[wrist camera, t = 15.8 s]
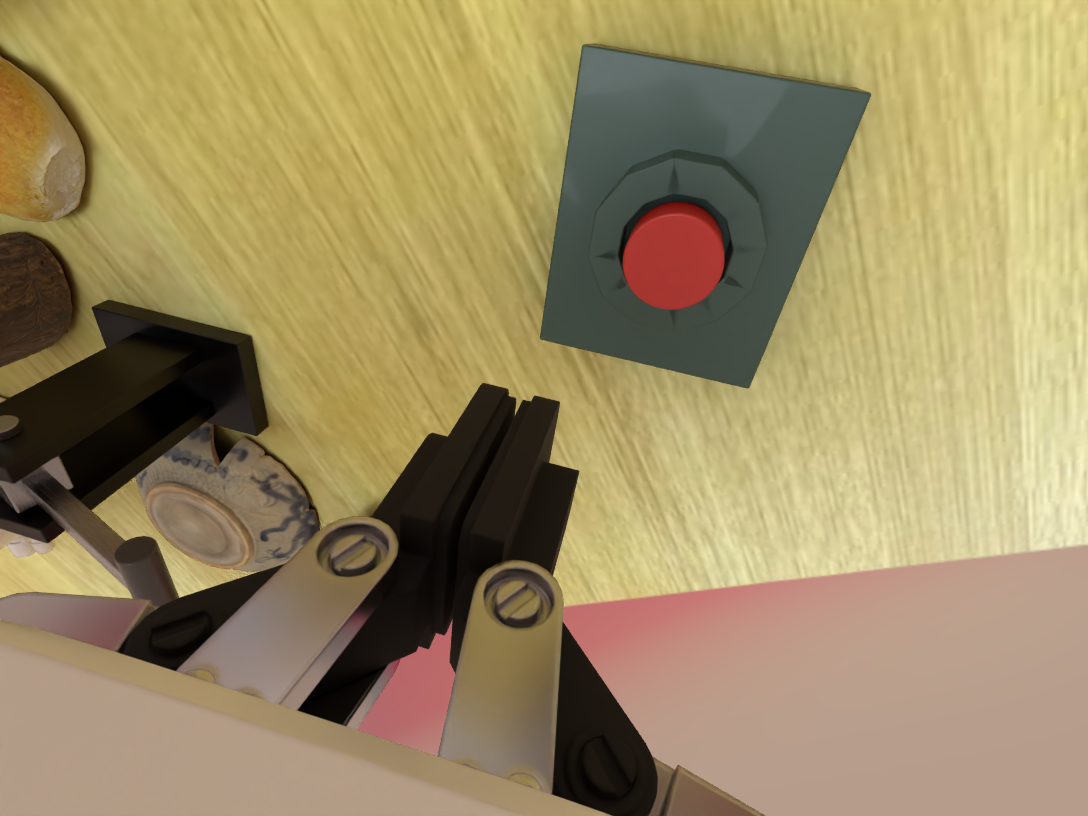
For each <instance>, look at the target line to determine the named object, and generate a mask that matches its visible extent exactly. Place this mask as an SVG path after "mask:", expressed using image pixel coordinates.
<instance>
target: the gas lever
mask: <svg viewBox="0 0 1088 816" xmlns="http://www.w3.org/2000/svg"><path fill="white" fill-rule="evenodd" d="M72 488H74V485H73V483H72V481H71V479H70V477H69V474H68V472H67V470H66V468H65V466H64V464H63V462H62V460H61V458H60V456H59V455H58V456H57V457H55V458H53V459H52V460H50V461H49V462H47V463H46V464H44V465H43V466H41V467H40V468H38V469H36V470H35V471H33V472H32V473H30V474H29V475H27V476H26V477H24V478H23V479H21V480H19V481H18V482H16V483H15V484H11V483H8V482H5V481H1V480H0V496H1V497H2V498H3V499H4V500H5V501H6V502H7V503H8V504H9V505H10V506H11V507H12V508H13V509H14V510H15V511H16V512H17V513H21V512H23V511H25V510H28V509H30V508H32V507H34V506H36V505H39V506H40V507H41V508H42V509H43V510H44V511H46V512H47V513H48V514H49V515H50V516H51V517H52V518H53V519H54V520H55V521H56V522H57V523H58V524H59V525H60V526H61V527H62V528H64V529H65V530H66V531H67V532H68V533H69V534H70V535H71V536H72V537H73V538H74V539H75V540H76V541H77V542H78V543H79V544H80V545H81V546H83V547H84V548H85V549H86V550H87V551H88V552H89V553H90V554H91V555H92V556H93V557H94V558H95V559H96V560H97V561H98V562H99V563H101V564H102V565H103V566H104V567H105V568H106V569H107V570H108V571H109V572H110V573H111V574H112V575H113V576H114V577H115V578H116V579H117V580H119V581H120V582H121V583H122V584H123V585H124V586H125V587H126V588H127V589H128V590H129V591H130V593H131V595H132V598H133V599H144V600H151V602H152V604H153V606H156V607H160V606H162V605H164V604H166V603H168V602H171V601H173V600H175V599H178V598H179V596H178V593H177V591H176V588H175V586H174V584H173V581H172V579H171V576H170V574H169V571H168V569H167V566H166V564H165V561H164V559H163V556H162V554H161V551H160V549H159V546H158V544H157V542H156V540H155V539H153V538H151V537H147V536H140V537H135V538H132V539H129V540H127V541H125V540H124V539H123V538H121V537H120V536H119V535H118V534H117V533H116V532H115V531H114V530H112V529H111V528H110V527H109V526H108V525H107V524H106V523H105V522H103V521H102V520H101V519H100V518H99V517H98V516H97V515H96V514H94V513H93V512H92V511H91V510H90V509H89V508H88V507H87V506H85V505H84V504H83V503H82V502H81V501H80V500H79V499H78V498H76V497H75V496H74V495H73V494H72V493H71V492H70V491H69V490H70V489H72Z"/></svg>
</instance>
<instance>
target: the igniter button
mask: <svg viewBox="0 0 1088 816" xmlns="http://www.w3.org/2000/svg"><path fill="white" fill-rule="evenodd" d="M723 268H724V244H723V236H722V233H721V229H720V227H719V225H718V223H717V222H716V220H715V219H714V218H713V217H712V215H711V214H710V213H708V212H707V211H706V210H705V209H703V208H701V207H700V206H697V205H695V204H692V203H688V202H681V201H674V202H668V203H664V204H661V205H658V206H656V207H654V208H652V209H651V210H649V211H648V212H646V213H645V214H644V215H643V216H642V217H641V218H640V219H639V220H638V222H637V223H636V224H635V226H634V228H633V230H632V232H631V234H630V237H629V239H628V242H627V244H626V247H625V251H624V255H623V271H624V275H625V279H626V281H627V283H628V285H629V287H630V288H631V290H632V291H633V292H634V294H635V295H636V296H637V297H638V298H640V299H641V300H642V301H644V302H646V303H647V304H649V305H651V306H654V307H657V308H661V309H671V310H673V309H681V308H686V307H689V306H692V305H694V304H696V303H698V302H700V301H701V300H703V299H704V298H705V297H707V296H708V295H709V294H710V293H711V292H712V291H713V289H714V288H715V287H716V285H717V284H718V282H719V280H720V278H721V275H722V272H723Z"/></svg>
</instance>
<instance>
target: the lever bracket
mask: <svg viewBox="0 0 1088 816" xmlns="http://www.w3.org/2000/svg"><path fill="white" fill-rule="evenodd" d="M92 310H93V313H94V316H95V318H96V321H97V324H98V326H99V329H100V332H101V334H102V337H103V340H104V343H105V345H106V348H105V349H103V350H101V351H99V352H97V353H95V354H93V355H91V356H89V357H88V358H86V359H84V360H82V361H80V362H78V363H76V364H74V365H72V366H70V367H68V368H66V369H64V370H63V371H61V372H59V373H57V374H55V375H53V376H51V377H49V378H47V379H45V380H43V381H41V382H39V383H38V384H36V385H34V386H32V387H30V388H28V389H26V390H24V391H22V392H20V393H18V394H16V395H14V396H13V397H11V398H9V399H7V400H5V401H3V402H1V403H0V480H1V481H5V482H8V483H11V484H15V483H16V482H18V481H19V480H21V479H23V478H24V477H26V476H27V475H29V474H30V473H32V472H33V471H35V470H36V469H38V468H40V467H41V466H43V465H44V464H46V463H47V462H49V461H50V460H52V459H53V458H55V457H57V456H58V455H59V456H60V458H61V460H62V462H63V464H64V466H65V468H66V470H67V472H68V474H69V477H70V479H71V481H72V483H73V485H74V488H72V489H70V490H69V491H70V492H71V493H72V494H73V495H74V496H75V497H76V498H78V499H79V500H80V501H81V502H82V503H83V504H84V505H85V506H87V507H88V508H89V509H90V510H92V509H94V508H95V507H96V506H97V505H99V504H100V503H101V502H103V501H104V500H105V499H106V498H108V497H109V496H110V495H112V494H113V493H114V492H116V491H117V490H118V489H119V488H121V487H122V486H123V485H125V484H126V483H127V482H129V481H130V480H131V479H132V478H134V477H135V476H136V475H138V474H139V473H140V472H141V471H143V470H144V469H145V468H147V467H148V466H149V465H151V464H152V463H153V462H154V461H156V460H157V459H158V458H160V457H161V456H162V455H164V454H165V453H166V452H167V451H169V450H170V449H171V448H173V447H174V446H175V445H176V444H178V443H179V442H180V441H182V440H183V439H184V438H186V437H187V436H188V435H189V434H191V433H192V432H193V431H195V430H196V429H197V428H199V427H200V426H201V425H202V424H204V423H205V422H207V423H211V424H215V425H218V426H222V427H225V428H229V429H233V430H236V431H240V432H244V433H247V434H251V435H254V436H258V435H259V434H260V433H261V432H262V431H264V430H265V429H266V428H267V427H268V422H267V417H266V412H265V407H264V402H263V397H262V392H261V386H260V381H259V376H258V371H257V366H256V361H255V356H254V351H253V345H252V340H251V336H249V335H245V334H241V333H237V332H233V331H229V330H225V329H221V328H217V327H213V326H209V325H205V324H201V323H197V322H193V321H189V320H185V319H181V318H177V317H173V316H169V315H165V314H161V313H157V312H154V311H150V310H146V309H142V308H138V307H134V306H130V305H126V304H122V303H118V302H114V301H110V300H107V301H104V302H102V303H100V304H98V305H95V306H93V307H92ZM0 529H3V530H6V531H9V532H12V533H15V534H18V535H22V536H25V537H28V538H31V539H34V540H37V541H41V542H44V543H49V542H51V541H52V540H53V539H55V538H56V537H57V536H58V535H60V534H61V533H62V532H64V531H65V529H64V528H62V527H61V526H60V525H59V524H58V523H57V522H56V521H55V520H54V519H53V518H52V517H51V516H50V515H49V514H48V513H47V512H46V511H44V510H43V509H42V508H41V507H40V506H39V505H36V506H34V507H32V508H30V509H28V510H25V511H23V512H21V513H17V512H16V511H15V510H14V509H13V508H12V507H11V506H10V505H9V504H8V503H7V502H6V501H5V500H4V499H3V498H2V497H1V496H0Z"/></svg>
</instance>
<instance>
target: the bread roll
mask: <svg viewBox="0 0 1088 816" xmlns="http://www.w3.org/2000/svg"><path fill="white" fill-rule="evenodd" d="M84 183H85V156H84V151H83V147H82V144H81V142H80V140H79V137H78V135H77V133H76V130H75V129H74V128H73V126H72V125H71V124H70V122H69V120H68V119H67V117H66V116H65V114H64V113H63V111H62V110H61V109H60V107H59V106H58V104H57V102H56V101H55V100H54V99H53V98H52V96H51V95H50V94H49V93H48V92H47V91H46V90H45V89H44V88H43V87H42V86H41V85H39V84H38V83H37V82H36V81H35V80H34V79H32V78H31V77H30V76H29V75H27V74H26V73H25V72H23V71H22V70H20V69H18V68H17V67H16V66H15V65H13V64H12V63H10V62H8V61H7V60H5V59H3V58H2V57H1V56H0V212H1V213H3V214H6V215H9V216H12V217H15V218H19V219H22V220H27V221H35V222H46V221H50V220H51V221H54V220H59V219H61V218H62V217H64V216H66V215H67V214H68V213H70V211H72V210H74V209H75V208H76V207H77V206H78V205H79V202H80V198H81V194H82V189H83V186H84Z"/></svg>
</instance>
